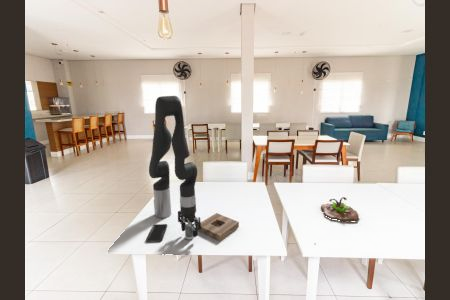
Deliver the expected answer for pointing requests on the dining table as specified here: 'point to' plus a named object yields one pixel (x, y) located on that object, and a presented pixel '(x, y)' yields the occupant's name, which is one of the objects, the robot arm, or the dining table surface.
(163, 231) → the phone
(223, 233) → the end holder
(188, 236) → the connector plug
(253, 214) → the dining table surface
